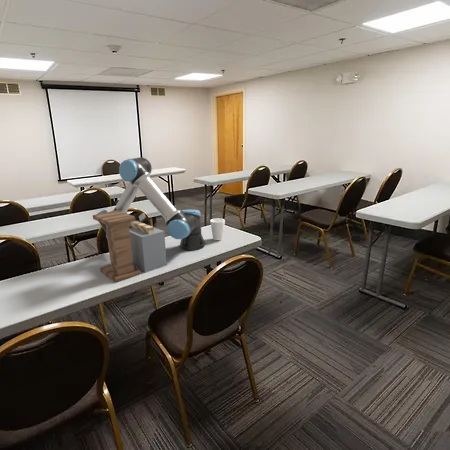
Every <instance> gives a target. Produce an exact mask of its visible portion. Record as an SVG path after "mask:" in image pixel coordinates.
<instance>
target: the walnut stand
mask: <svg viewBox="0 0 450 450" xmlns="http://www.w3.org/2000/svg"><path fill="white" fill-rule="evenodd" d="M92 219H93V220H94V221H97V222H98V221H99V222H101V223H103V224H105V225H106V232H107V238H106V239H107V244H108V245H107V246H108V253H109V260H110V264H109V265H105V266H100V268H99V270H100V272H101V273H102V274H104V275H105V276H106V277H108V278H109V279H110V280H112V281H113V282H114V283H119V282H122V281H125V280H128V279H130V278H133V277H137V276H139V275H140V276H141V274H142V272H141V271H142V270H140V269H138V268H137V267H135V266H133V257H132V248H131V239H130V229H129V228H130V227H129V222H131V221H135V219H136V216H134V215H131V214H129V213H128V212H127V213H124V212H121V211H118V210H117V211H113V210H111V211H107V212H106V213H101V214H97V213H96V214H92ZM99 222H98V223H99ZM106 232H105V233H106Z"/></svg>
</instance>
